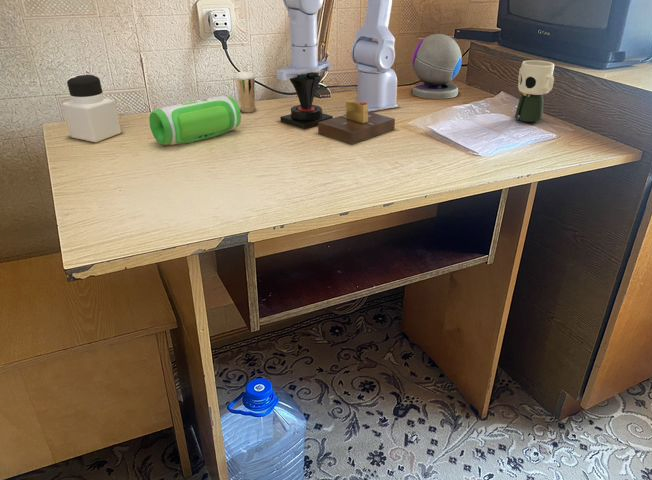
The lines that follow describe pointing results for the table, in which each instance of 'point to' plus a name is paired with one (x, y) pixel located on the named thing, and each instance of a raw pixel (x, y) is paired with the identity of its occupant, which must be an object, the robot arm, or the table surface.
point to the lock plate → (355, 128)
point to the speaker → (194, 120)
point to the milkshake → (246, 90)
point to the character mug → (533, 88)
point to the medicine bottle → (90, 110)
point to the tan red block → (357, 111)
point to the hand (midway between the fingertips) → (306, 108)
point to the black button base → (305, 117)
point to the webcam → (437, 67)
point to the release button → (306, 109)
